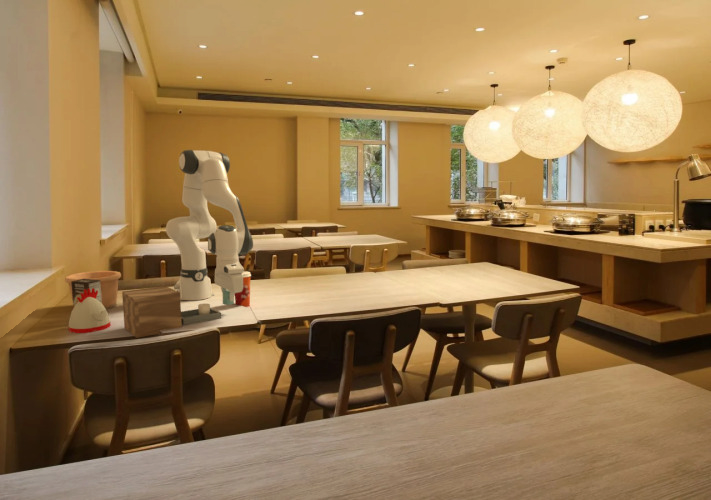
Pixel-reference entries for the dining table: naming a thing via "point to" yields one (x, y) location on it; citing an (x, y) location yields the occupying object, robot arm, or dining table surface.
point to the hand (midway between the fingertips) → (228, 299)
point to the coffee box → (86, 284)
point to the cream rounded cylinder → (204, 309)
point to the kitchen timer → (88, 314)
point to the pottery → (107, 284)
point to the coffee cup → (244, 291)
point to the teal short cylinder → (226, 298)
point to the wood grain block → (151, 310)
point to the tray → (194, 317)
